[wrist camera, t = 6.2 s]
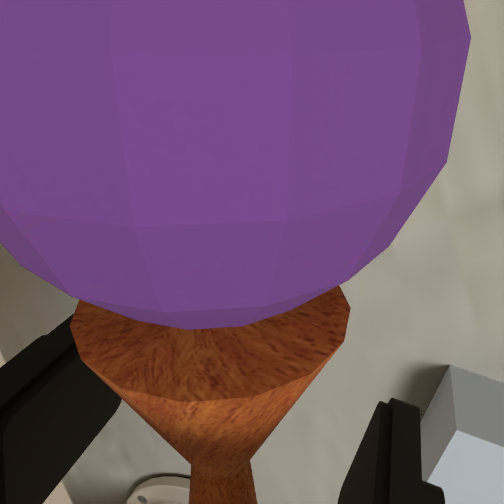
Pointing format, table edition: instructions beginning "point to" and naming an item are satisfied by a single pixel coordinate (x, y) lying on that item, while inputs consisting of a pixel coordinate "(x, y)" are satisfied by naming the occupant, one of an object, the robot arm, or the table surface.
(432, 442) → the dusty blue block
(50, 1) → the kendama
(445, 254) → the table surface
